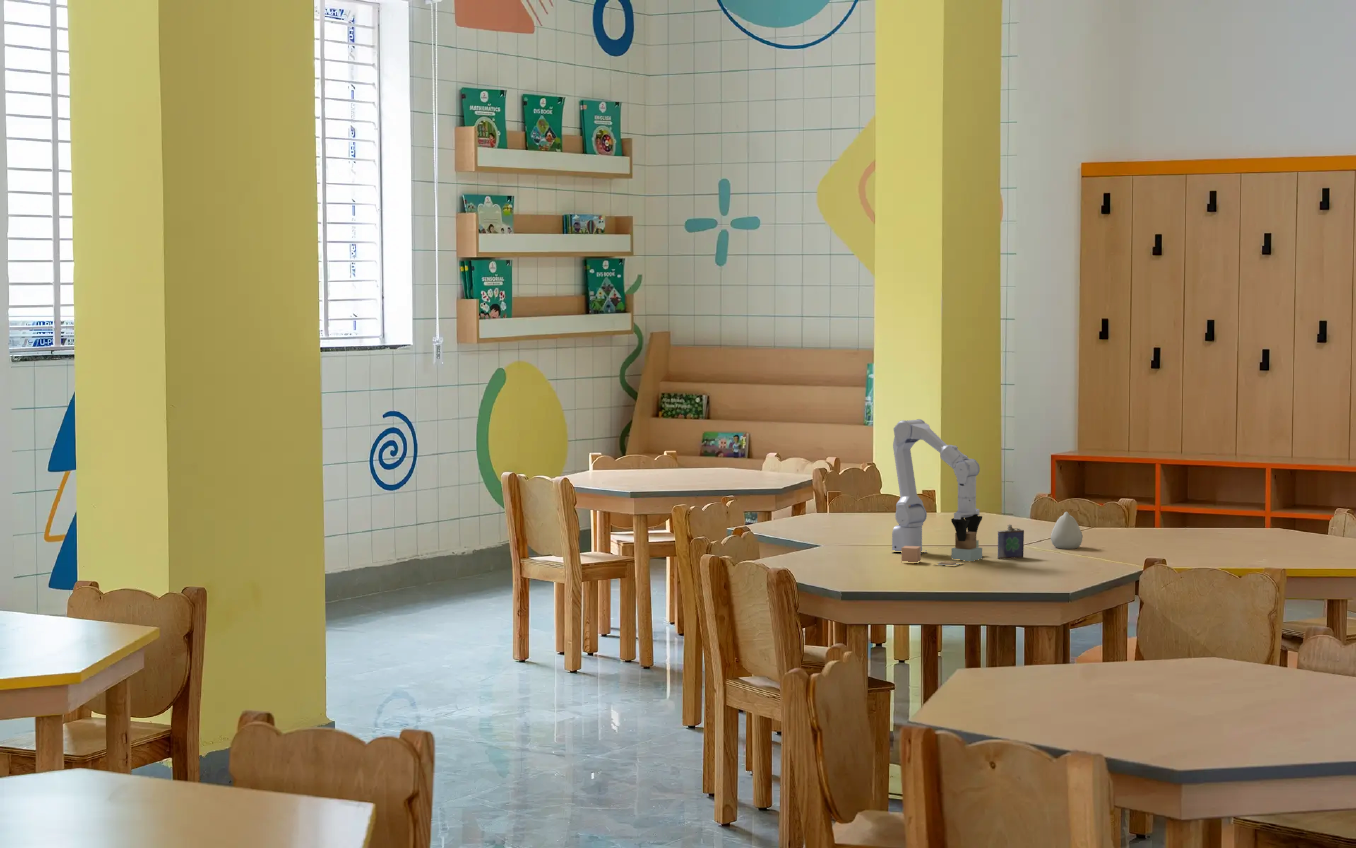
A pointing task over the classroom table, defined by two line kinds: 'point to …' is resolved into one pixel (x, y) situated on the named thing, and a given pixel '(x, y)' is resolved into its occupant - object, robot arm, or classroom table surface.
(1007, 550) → the flask
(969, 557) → the base block
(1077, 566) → the classroom table surface
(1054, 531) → the grey teardrop shape
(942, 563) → the grey square frame
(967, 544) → the walnut cube
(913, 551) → the terracotta cube
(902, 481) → the robot arm
